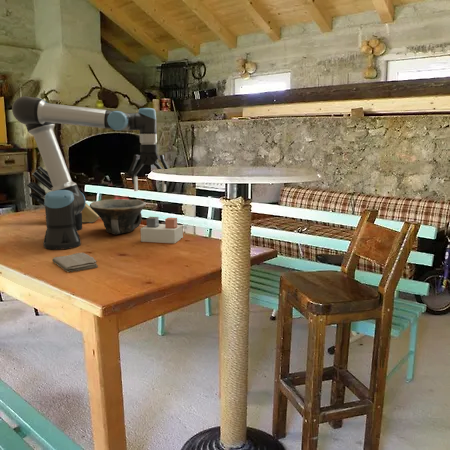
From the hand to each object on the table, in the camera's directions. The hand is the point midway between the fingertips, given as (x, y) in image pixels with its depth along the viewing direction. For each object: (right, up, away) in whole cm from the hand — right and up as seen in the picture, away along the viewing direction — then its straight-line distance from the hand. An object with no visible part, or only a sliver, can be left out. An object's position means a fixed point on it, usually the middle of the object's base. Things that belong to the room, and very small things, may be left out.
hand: (150, 191), depth 204 cm
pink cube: (+10, -17, 0) cm, 19 cm away
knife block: (-53, -14, +42) cm, 69 cm away
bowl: (-18, -19, +17) cm, 32 cm away
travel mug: (-42, -18, +24) cm, 52 cm away
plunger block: (+5, -22, +2) cm, 23 cm away
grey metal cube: (+1, -16, +2) cm, 17 cm away
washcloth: (-21, -31, -38) cm, 53 cm away
